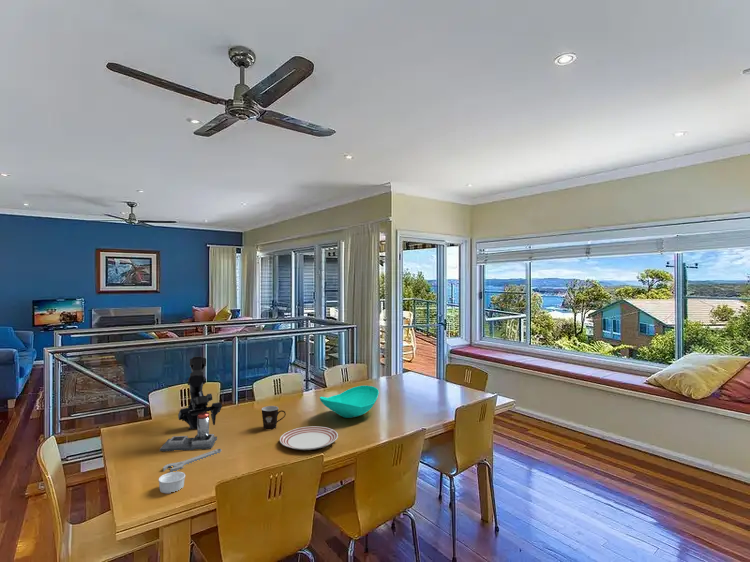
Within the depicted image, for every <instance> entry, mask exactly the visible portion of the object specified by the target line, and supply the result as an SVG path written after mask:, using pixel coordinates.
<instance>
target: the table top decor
mask: <svg viewBox="0 0 750 562" xmlns="http://www.w3.org/2000/svg"><path fill="white" fill-rule="evenodd" d="M379 393H380V392H379V389H378V388H377V387H375V386H372V385H358V386H354V387H351V388H348V389H347V390H345V391H343V392H341V393H339V394H335V395H332V396H328V397H327V396H320V397H319V400H320V402H321V403H322V404H323V405H324V406H325V407H326V408H327V409H329V410H330V411H332V412H333V413H336V414H337V415H338V416H340V417H342V418H345V419H352V418H356V417H359V416H363V415H364V414H366V413H367V412H368V413H369V411H370V410H371V409H372V408H373V406H374V405H375V403H376V402H377V400H378V397H379Z"/></svg>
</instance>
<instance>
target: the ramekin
mask: <svg viewBox="0 0 750 562" xmlns="http://www.w3.org/2000/svg"><path fill="white" fill-rule="evenodd" d="M185 479H186V474H185V472H182V471H176V472H170V471H169V472H167V473H164V474H162V475H160V476H159V477H158V483H159V484H158V486H159V491H160V493H163V494H172V493H171V492H174V493H176V492H175V491H177V492H179V491H181V490H182V489H183V488H184V486H185ZM181 488H182V489H181ZM180 489H181V490H180ZM178 490H179V491H178Z"/></svg>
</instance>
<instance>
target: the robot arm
mask: <svg viewBox="0 0 750 562" xmlns="http://www.w3.org/2000/svg"><path fill="white" fill-rule="evenodd" d="M206 367H207V358H206V357H204V356H202V355H199V356H193V357H192V358H190V359H189V368H190V369H191V370H190V371H191V373H189V377H188V378H187V379H188V380H187V386H189V390H188V391H189V392H188V393H189V395H190V399H189V405H187V407H184V408H180V410H179V411H178V415H177V418H178V420H179V421H182V422H184V423H186V424H187V425H189V427H188V430H193V431H194V430H197V423H198V414H199V413H202V412H210V417H211V422H212V425H213V426H215V425H216V419H217V415H218V413H220V412H221V410H222V408H223V405H222V403H221V402H220V401H219V402H213V403H212V404H211V405H210V406H208V403H210V402H211V401H213V393H207V394H206V395H204V391H203V389H204V387H203V386H204V385H205V384H206V383H207V378H206V376H204V374H205V373H204V372H205V368H206Z"/></svg>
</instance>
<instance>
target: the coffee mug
mask: <svg viewBox="0 0 750 562" xmlns="http://www.w3.org/2000/svg"><path fill="white" fill-rule="evenodd" d="M281 412H282V413H283V414H284V415H283V417H281V418H280V419H278V415H280V413H281ZM261 416H262V426H263V427H262V428H263V429H264V430H266V429H271V430H274V428H275V429H276V428H277V425H278V422H280V421H281V420H283V419H284V418H285V417H286V411H285V410H282V409H281V410H279V407H278V406H276V405H267V406H263V407H262V408H261Z"/></svg>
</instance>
